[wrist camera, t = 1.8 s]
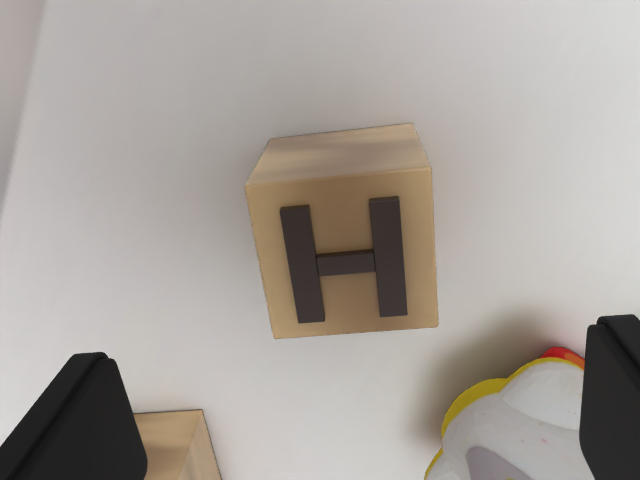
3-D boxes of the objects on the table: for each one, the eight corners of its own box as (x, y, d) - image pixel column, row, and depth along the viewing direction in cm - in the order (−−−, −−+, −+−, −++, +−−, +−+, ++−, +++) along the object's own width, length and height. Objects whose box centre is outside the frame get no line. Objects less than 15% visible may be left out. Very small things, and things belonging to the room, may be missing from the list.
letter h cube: (290, 264, 21) (271, 346, 17) (269, 138, 19) (241, 189, 15) (420, 253, 21) (440, 334, 16) (413, 122, 19) (433, 169, 14)
